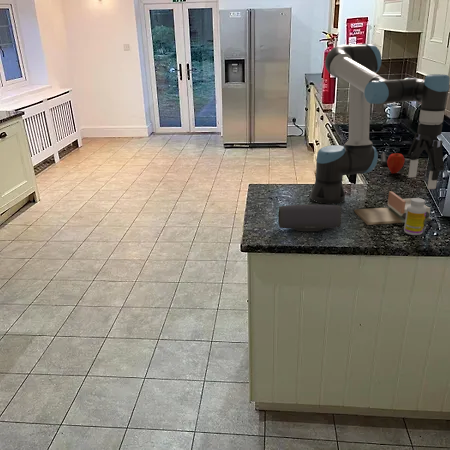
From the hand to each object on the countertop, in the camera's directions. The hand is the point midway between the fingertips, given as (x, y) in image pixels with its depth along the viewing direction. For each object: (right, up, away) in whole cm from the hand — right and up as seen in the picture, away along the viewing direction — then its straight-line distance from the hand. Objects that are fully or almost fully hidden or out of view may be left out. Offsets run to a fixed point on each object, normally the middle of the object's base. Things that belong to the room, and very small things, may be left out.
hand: (421, 182), depth 160 cm
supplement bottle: (0, -18, +8) cm, 20 cm away
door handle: (+26, +20, +94) cm, 100 cm away
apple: (+19, +12, +75) cm, 78 cm away
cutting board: (-2, -11, +22) cm, 25 cm away
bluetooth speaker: (-38, -17, +13) cm, 43 cm away
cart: (+4, -10, +22) cm, 25 cm away
